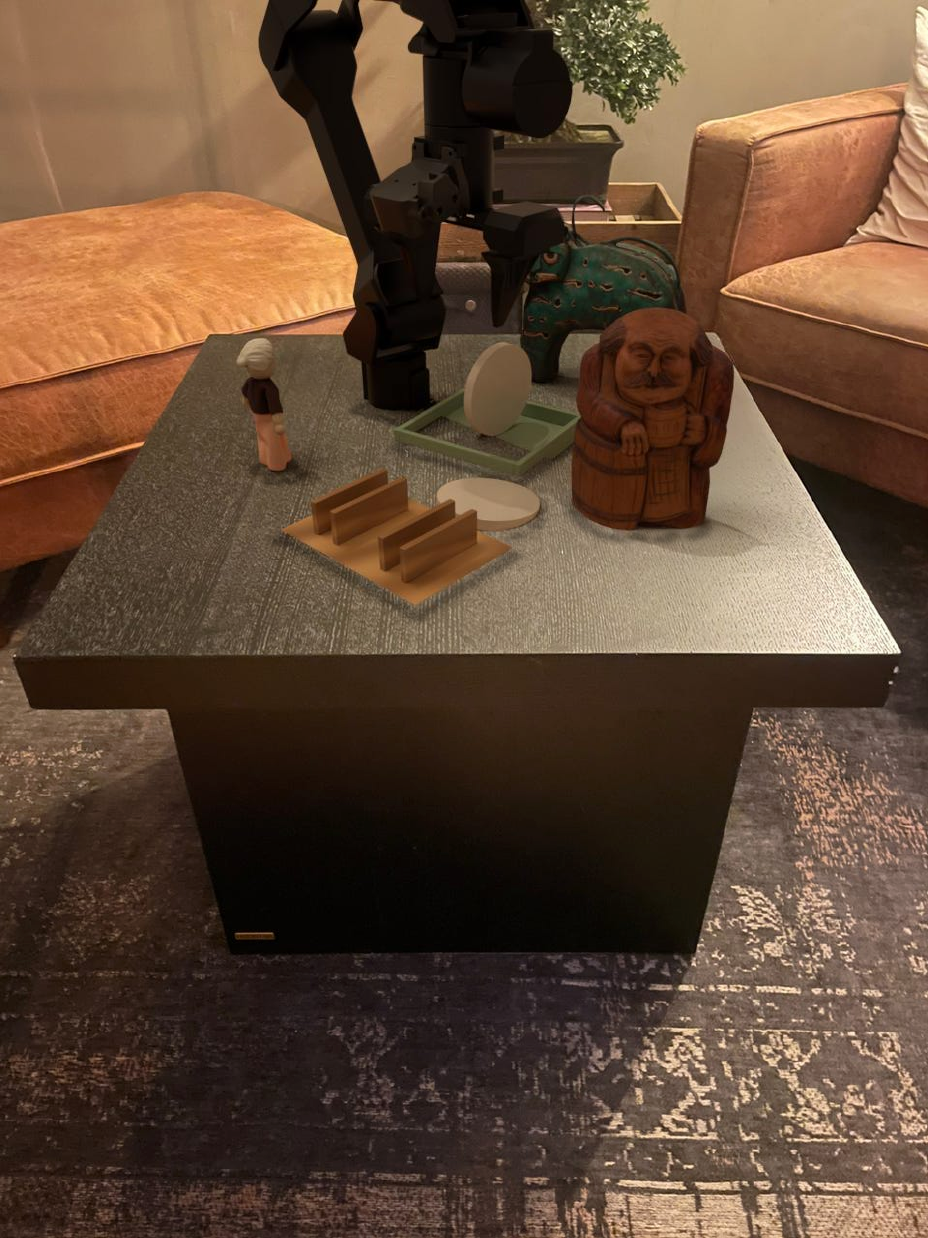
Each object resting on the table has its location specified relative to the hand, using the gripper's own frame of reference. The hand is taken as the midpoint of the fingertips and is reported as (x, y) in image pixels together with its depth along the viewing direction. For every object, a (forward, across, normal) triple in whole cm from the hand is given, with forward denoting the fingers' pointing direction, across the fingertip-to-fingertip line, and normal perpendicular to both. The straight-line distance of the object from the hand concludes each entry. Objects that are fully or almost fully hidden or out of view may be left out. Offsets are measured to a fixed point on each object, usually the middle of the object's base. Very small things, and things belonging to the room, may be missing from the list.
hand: (460, 315), depth 84 cm
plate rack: (+13, +9, -18) cm, 24 cm away
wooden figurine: (+13, +21, 0) cm, 25 cm away
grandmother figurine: (+13, -9, -16) cm, 23 cm away
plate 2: (+12, +13, -12) cm, 21 cm away
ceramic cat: (+13, 0, +21) cm, 25 cm away
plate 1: (+12, +1, +3) cm, 13 cm away
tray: (+13, +2, +3) cm, 13 cm away
